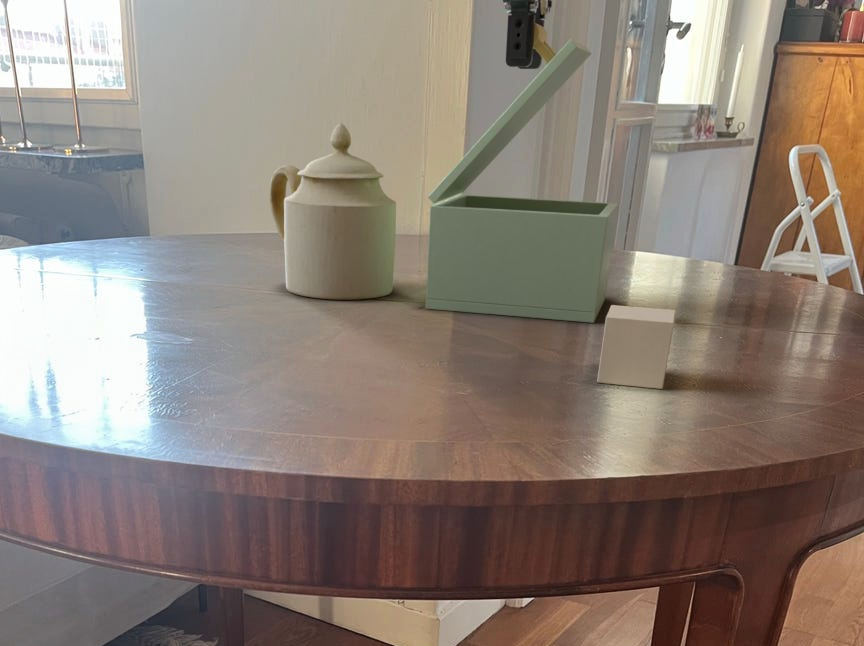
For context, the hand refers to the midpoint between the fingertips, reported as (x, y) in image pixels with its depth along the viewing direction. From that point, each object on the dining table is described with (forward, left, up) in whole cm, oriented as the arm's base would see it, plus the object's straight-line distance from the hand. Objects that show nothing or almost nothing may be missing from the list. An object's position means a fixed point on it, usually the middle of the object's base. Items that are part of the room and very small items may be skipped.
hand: (523, 66), depth 84 cm
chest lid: (0, 0, -5) cm, 5 cm away
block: (-3, +29, -20) cm, 35 cm away
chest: (-1, +1, -20) cm, 20 cm away
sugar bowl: (+18, -6, -20) cm, 27 cm away
